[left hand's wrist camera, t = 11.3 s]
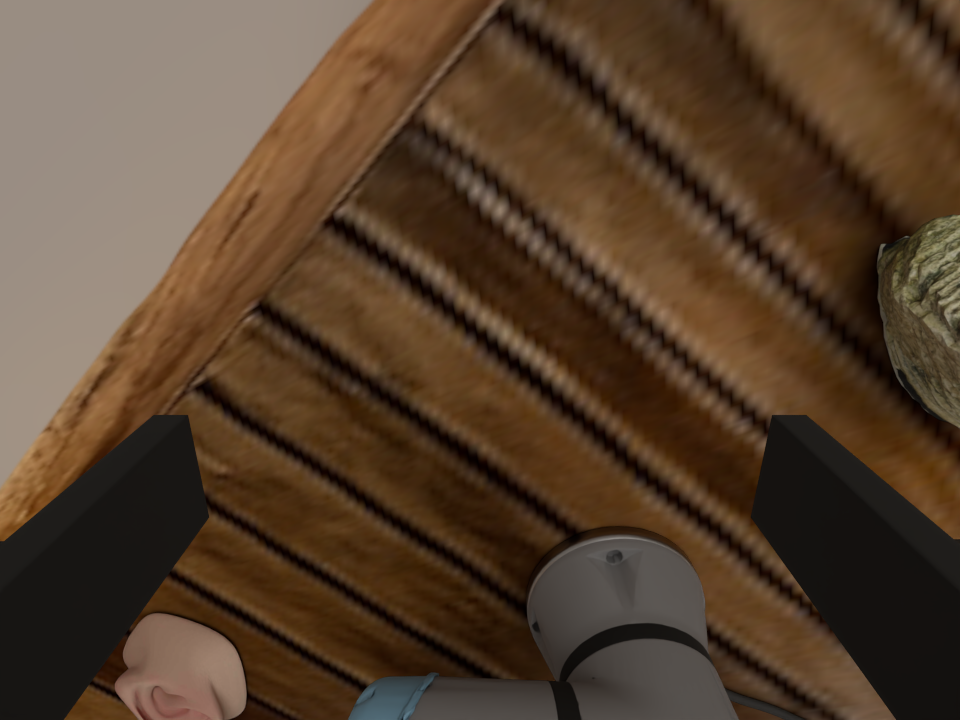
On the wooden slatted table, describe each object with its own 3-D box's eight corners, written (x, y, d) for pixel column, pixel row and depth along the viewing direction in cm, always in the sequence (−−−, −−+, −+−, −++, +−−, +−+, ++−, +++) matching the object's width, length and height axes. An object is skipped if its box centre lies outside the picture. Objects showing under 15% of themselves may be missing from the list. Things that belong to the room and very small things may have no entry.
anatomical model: (93, 643, 47) (233, 661, 48) (121, 606, 51) (250, 624, 52) (102, 749, 52) (229, 765, 53) (127, 709, 56) (245, 724, 56)
